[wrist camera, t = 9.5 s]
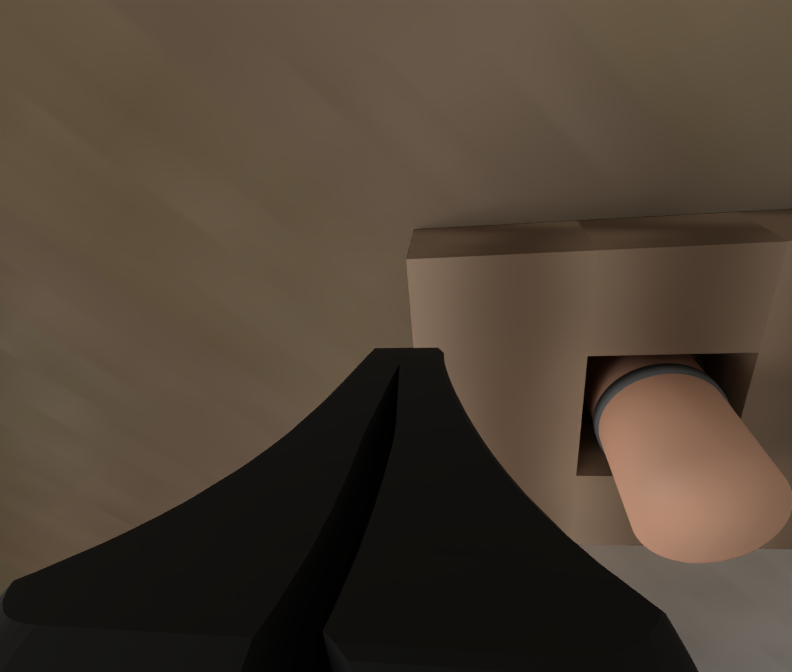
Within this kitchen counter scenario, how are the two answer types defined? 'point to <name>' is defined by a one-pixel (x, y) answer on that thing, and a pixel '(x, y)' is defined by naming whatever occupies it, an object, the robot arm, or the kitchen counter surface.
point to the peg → (683, 459)
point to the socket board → (604, 336)
